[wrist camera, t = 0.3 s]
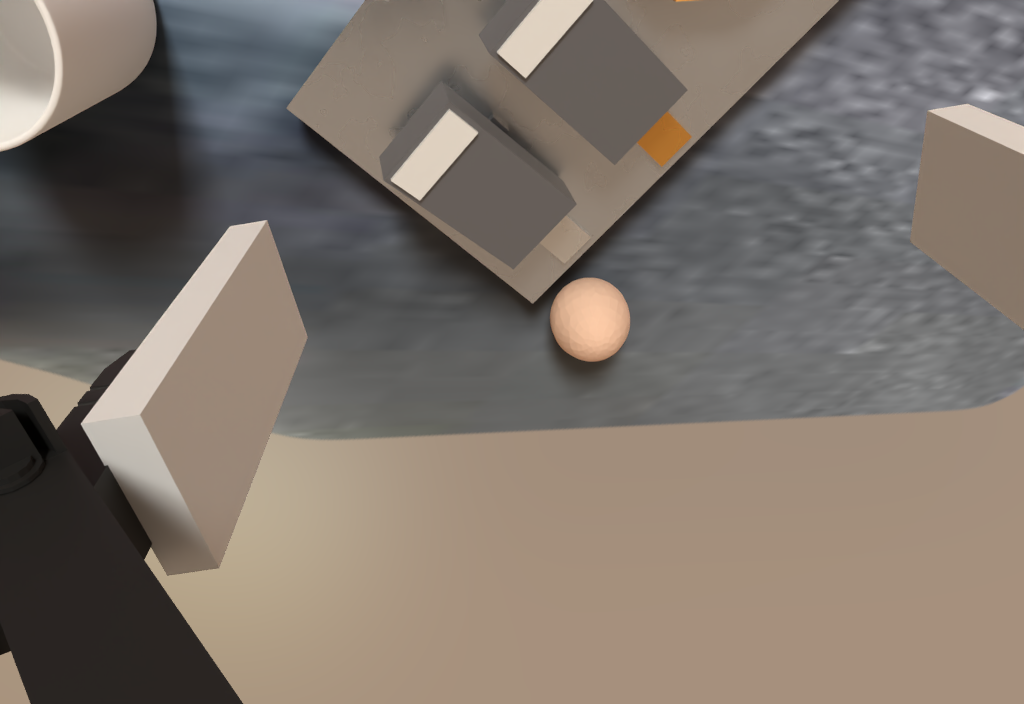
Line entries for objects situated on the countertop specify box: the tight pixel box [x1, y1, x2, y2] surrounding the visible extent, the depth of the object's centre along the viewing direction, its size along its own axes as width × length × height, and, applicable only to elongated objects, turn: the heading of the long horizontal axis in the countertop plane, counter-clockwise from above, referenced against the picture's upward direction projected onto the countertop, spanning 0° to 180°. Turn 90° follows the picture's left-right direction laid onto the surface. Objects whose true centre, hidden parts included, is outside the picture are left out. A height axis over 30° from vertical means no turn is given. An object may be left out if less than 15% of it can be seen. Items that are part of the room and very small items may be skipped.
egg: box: [550, 278, 630, 362], centre depth 42 cm, size 4×4×6 cm
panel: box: [287, 0, 839, 304], centre depth 35 cm, size 16×24×3 cm, turn 138°
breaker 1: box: [379, 81, 577, 269], centre depth 35 cm, size 8×4×3 cm, turn 47°
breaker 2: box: [479, 0, 687, 165], centre depth 32 cm, size 8×4×3 cm, turn 47°
